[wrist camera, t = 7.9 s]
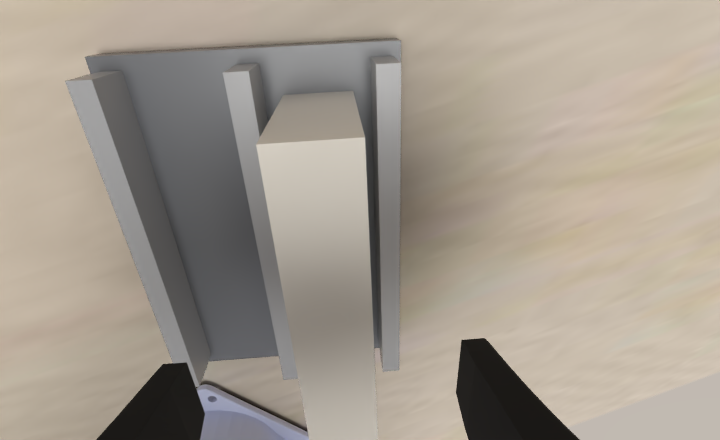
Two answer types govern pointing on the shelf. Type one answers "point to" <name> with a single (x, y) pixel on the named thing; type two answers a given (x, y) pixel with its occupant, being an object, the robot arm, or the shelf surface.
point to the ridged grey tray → (233, 183)
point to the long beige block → (324, 257)
